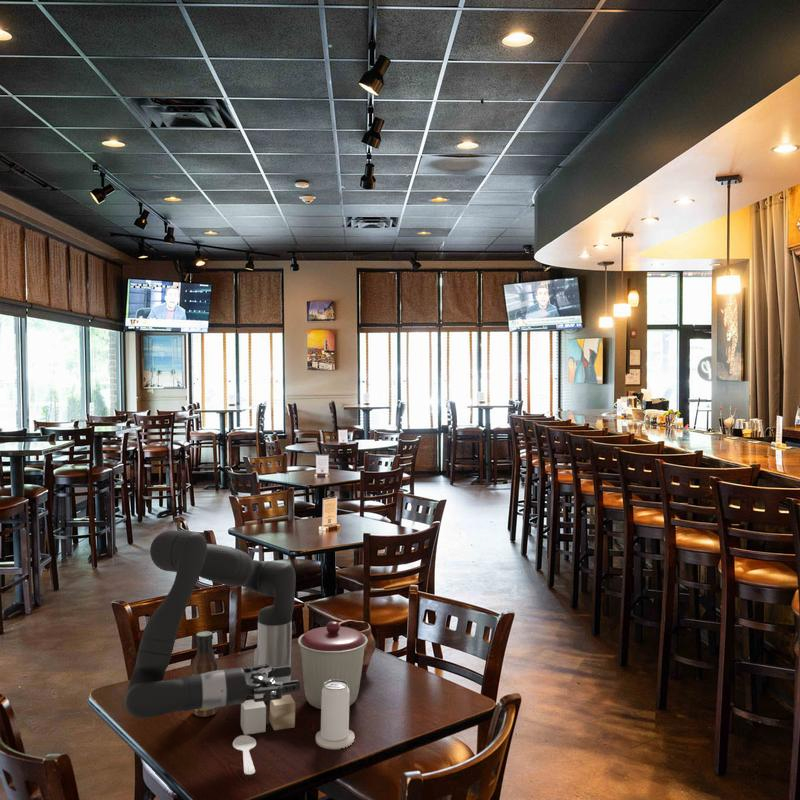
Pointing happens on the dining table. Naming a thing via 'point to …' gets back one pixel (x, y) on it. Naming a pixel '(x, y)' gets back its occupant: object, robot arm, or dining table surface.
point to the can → (335, 710)
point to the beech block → (282, 713)
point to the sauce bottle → (204, 665)
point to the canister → (331, 659)
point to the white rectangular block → (253, 717)
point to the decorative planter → (366, 630)
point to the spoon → (246, 751)
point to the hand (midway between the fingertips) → (294, 677)
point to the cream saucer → (335, 745)
